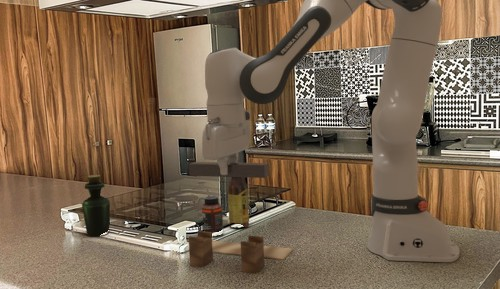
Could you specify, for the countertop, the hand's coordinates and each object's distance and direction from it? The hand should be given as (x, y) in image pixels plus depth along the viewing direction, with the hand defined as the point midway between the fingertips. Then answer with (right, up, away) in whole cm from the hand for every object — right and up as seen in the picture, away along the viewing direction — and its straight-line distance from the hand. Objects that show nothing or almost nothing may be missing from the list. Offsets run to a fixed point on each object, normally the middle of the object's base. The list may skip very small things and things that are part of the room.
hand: (228, 172), depth 124 cm
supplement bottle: (-6, -20, +26) cm, 34 cm away
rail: (0, -1, 0) cm, 1 cm away
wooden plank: (+4, -21, +11) cm, 24 cm away
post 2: (+6, -23, -2) cm, 24 cm away
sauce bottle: (+2, -19, +34) cm, 39 cm away
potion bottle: (-41, -21, +32) cm, 56 cm away
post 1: (-7, -23, +3) cm, 24 cm away
